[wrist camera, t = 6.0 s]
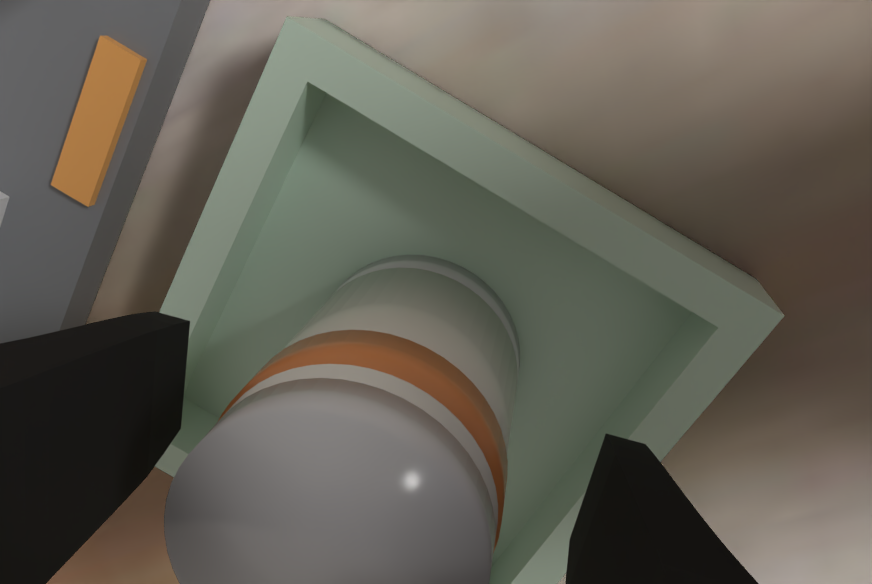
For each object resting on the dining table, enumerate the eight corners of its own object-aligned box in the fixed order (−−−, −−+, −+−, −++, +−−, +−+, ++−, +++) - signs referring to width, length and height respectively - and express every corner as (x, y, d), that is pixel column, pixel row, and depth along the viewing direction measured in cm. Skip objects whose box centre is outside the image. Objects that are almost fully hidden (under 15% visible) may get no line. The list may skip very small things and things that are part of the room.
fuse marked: (544, 279, 13) (529, 459, 8) (498, 465, 15) (456, 728, 9) (331, 231, 14) (167, 368, 8) (306, 416, 15) (154, 640, 9)
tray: (756, 279, 13) (784, 315, 11) (498, 597, 16) (490, 661, 15) (324, 18, 13) (287, 16, 11) (153, 395, 16) (105, 437, 14)
